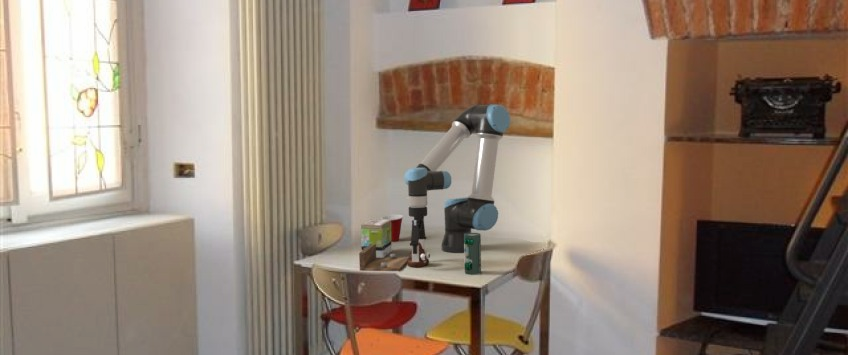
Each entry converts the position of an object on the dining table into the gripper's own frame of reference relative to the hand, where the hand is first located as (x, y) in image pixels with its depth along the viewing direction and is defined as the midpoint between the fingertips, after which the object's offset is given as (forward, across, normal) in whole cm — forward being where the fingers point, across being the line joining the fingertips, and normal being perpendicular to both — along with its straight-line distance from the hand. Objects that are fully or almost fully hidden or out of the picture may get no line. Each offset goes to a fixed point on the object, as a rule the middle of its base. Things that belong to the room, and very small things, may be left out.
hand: (418, 258), depth 301 cm
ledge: (+3, +1, -14) cm, 14 cm away
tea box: (+3, -19, -22) cm, 29 cm away
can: (+3, +12, +23) cm, 26 cm away
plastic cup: (+3, -52, -22) cm, 57 cm away
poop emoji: (+3, 0, 0) cm, 3 cm away
